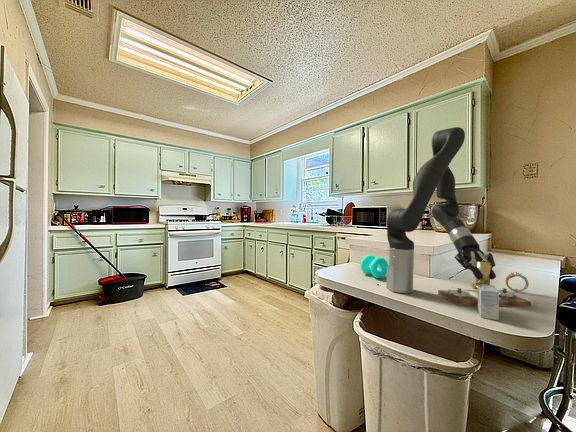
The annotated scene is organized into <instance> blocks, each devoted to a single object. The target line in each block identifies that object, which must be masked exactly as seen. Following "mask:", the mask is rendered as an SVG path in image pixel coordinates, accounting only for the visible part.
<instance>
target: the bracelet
mask: <svg viewBox="0 0 576 432" xmlns="http://www.w3.org/2000/svg"><path fill="white" fill-rule="evenodd" d="M522 274H523V273H522V272H520V273H519V272H518V271H514V272H513V271H512V272H511V273H509V274H507V276H506V277H505V280H504V281H505V284H506V285H505V286H506V287H508V289H509V290H511V291H512V292H514V293H515V292H516V293H519V292H524V291H526V290H527V289H528V287H529V285H530V284H529V280H528V278H527V276H524V275H522ZM515 277H519V278H521V279H523V281H524V283H525V285H524V287H523V288H520V289H517V288H513V287H511V286H510V284H509V280H510V279H512V278H515Z"/></svg>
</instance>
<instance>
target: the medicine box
mask: <svg viewBox="0 0 576 432" xmlns="http://www.w3.org/2000/svg"><path fill="white" fill-rule="evenodd" d="M497 290H498V289H497V287H495V285H491V284H490V285H485V284H478V306H477V311H478V313H479V316H480V318H482V319H488V320H492V321H499V319H500V313H499V309H500V306H499V292H498V291H497Z"/></svg>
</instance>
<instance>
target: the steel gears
mask: <svg viewBox="0 0 576 432" xmlns="http://www.w3.org/2000/svg"><path fill="white" fill-rule="evenodd" d="M461 290H462V288H460V287H458V288H457V289H448V293H449V296H454V297H458V298H459V299H462V298H468V299H471V295H470V293H469V292H464V291H461ZM497 291H498V292H499V297H503V298H506V299H509V298H515V299H517V297H519V295H518V294H516V293H515V291H507V288H505V287H504V288H503V287H502V288H501V289H497Z"/></svg>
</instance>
